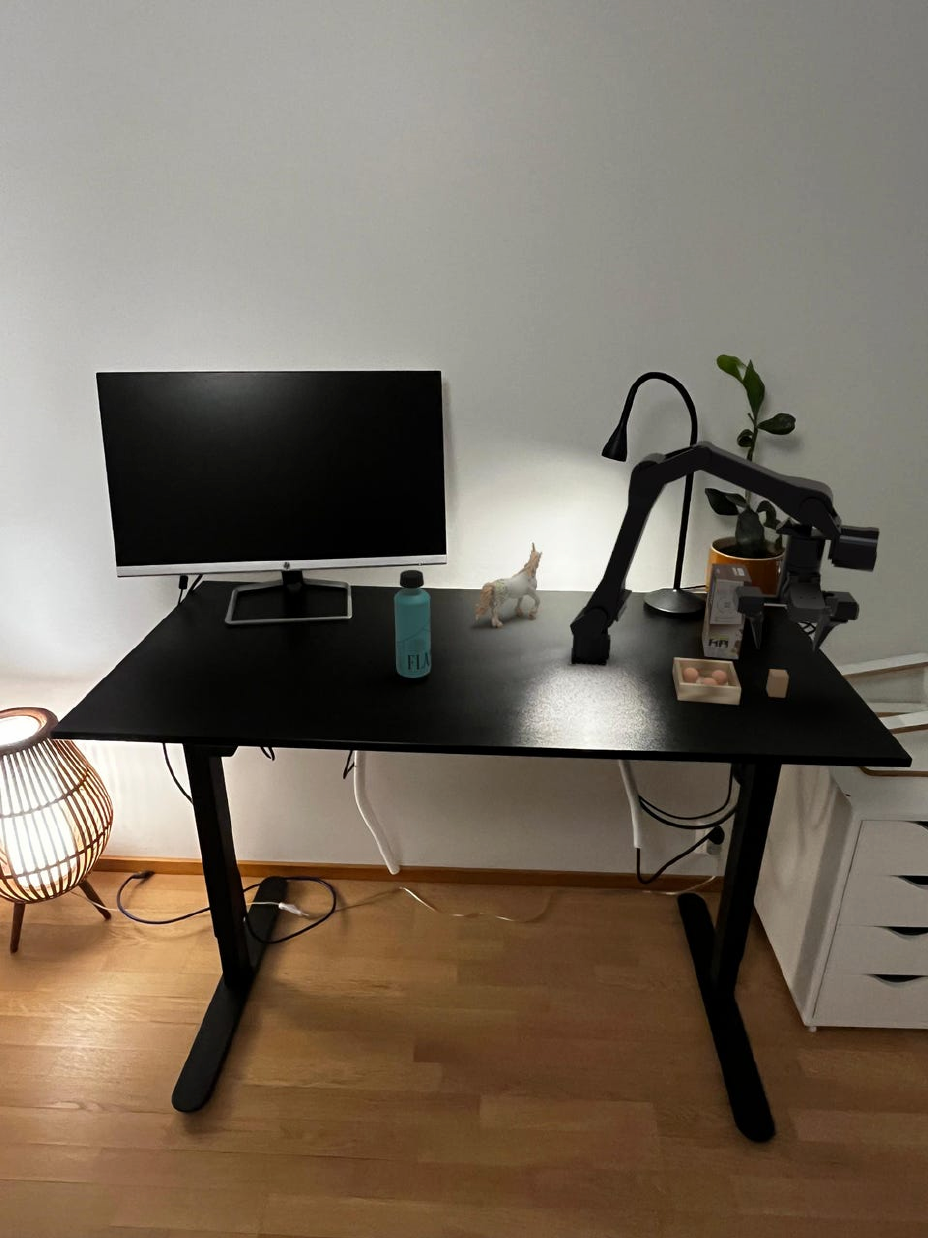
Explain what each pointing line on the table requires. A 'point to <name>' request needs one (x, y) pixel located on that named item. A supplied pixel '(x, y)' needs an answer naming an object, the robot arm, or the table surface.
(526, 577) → the unicorn figurine
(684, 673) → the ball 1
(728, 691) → the box
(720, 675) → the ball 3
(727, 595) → the coffee box
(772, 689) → the lid
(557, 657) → the table surface
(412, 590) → the beverage bottle
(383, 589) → the table surface
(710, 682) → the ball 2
